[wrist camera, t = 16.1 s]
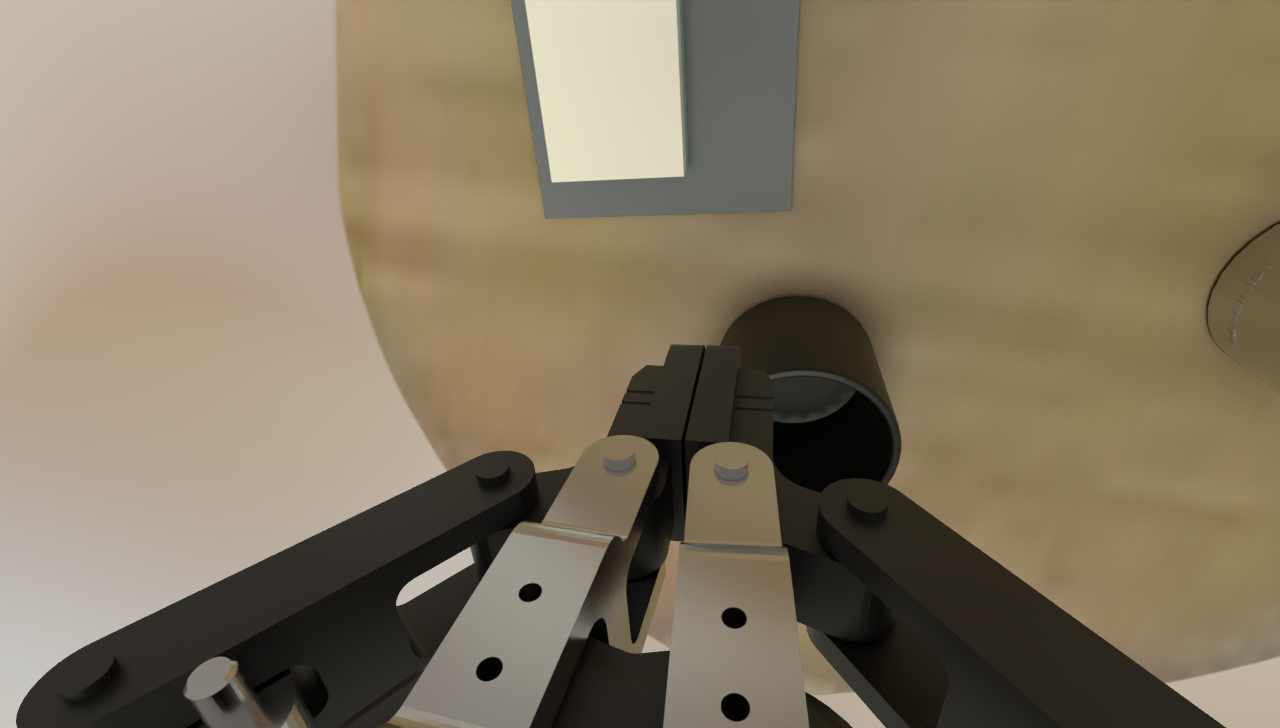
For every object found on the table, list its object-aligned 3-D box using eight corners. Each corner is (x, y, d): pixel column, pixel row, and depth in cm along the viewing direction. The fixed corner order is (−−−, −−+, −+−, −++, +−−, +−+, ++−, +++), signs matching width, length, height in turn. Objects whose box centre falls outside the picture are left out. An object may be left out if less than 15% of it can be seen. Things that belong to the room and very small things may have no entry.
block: (674, -37, 26) (521, -19, 27) (683, 176, 30) (551, 182, 32) (681, -33, 28) (538, -17, 29) (688, 166, 32) (564, 172, 34)
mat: (803, -112, 26) (803, -114, 26) (790, 208, 33) (791, 210, 33) (503, -72, 29) (499, -73, 29) (547, 216, 36) (545, 218, 35)
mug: (762, 469, 42) (761, 570, 34) (694, 324, 38) (676, 403, 30) (902, 434, 39) (936, 537, 31) (846, 270, 34) (870, 343, 27)
